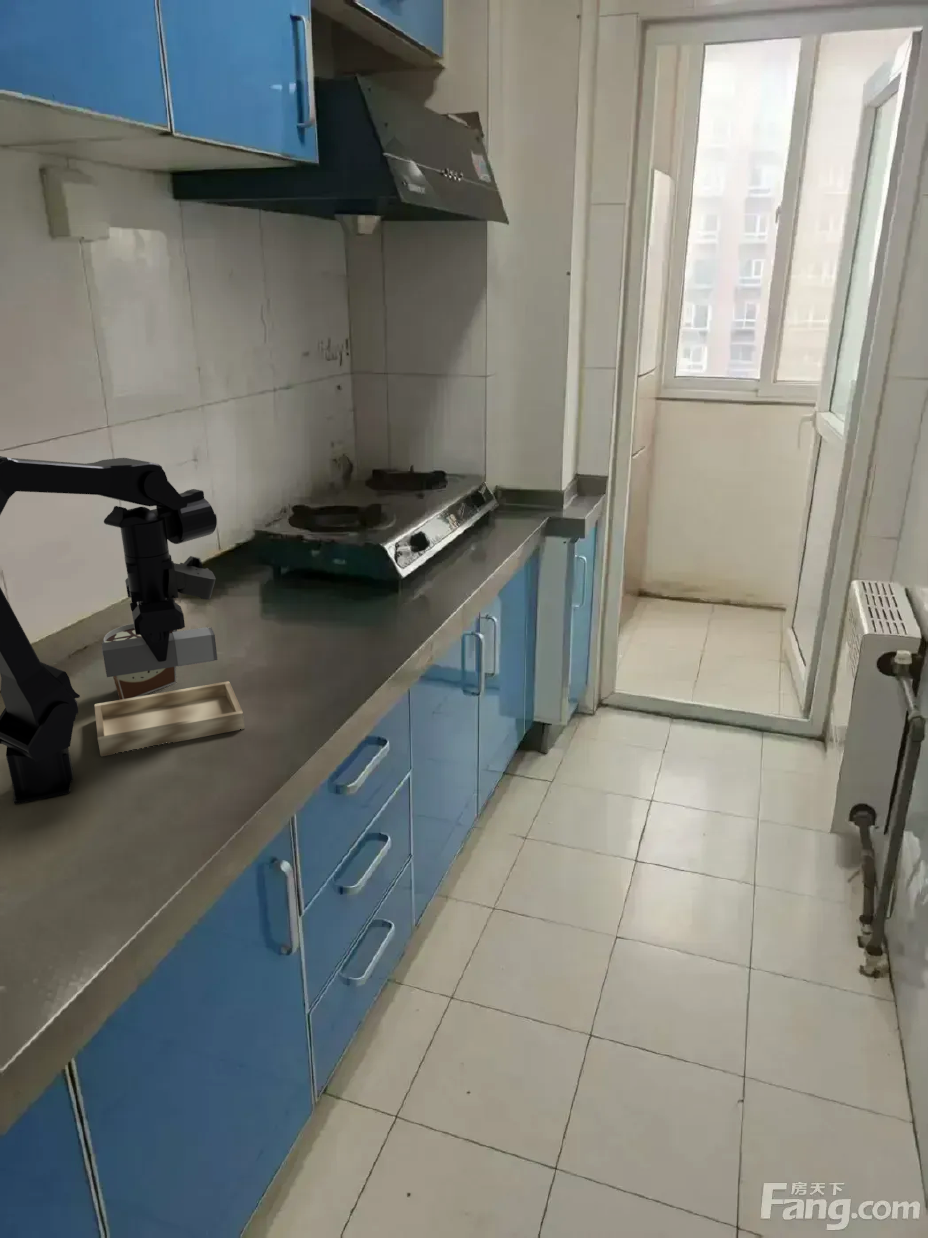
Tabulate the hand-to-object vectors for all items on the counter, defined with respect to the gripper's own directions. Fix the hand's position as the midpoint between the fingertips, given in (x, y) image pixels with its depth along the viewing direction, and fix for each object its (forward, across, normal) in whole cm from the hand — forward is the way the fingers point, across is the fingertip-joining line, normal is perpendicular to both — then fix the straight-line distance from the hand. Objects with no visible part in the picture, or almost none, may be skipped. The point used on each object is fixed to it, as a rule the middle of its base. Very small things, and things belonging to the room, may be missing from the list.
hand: (161, 656), depth 122 cm
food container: (+11, +15, +3) cm, 19 cm away
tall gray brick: (+1, 0, 0) cm, 1 cm away
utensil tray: (+11, 0, 0) cm, 11 cm away
